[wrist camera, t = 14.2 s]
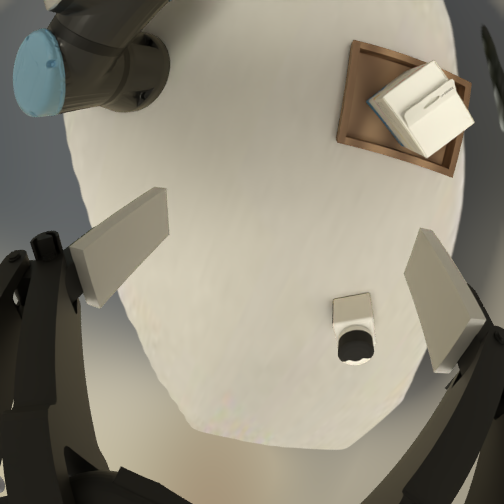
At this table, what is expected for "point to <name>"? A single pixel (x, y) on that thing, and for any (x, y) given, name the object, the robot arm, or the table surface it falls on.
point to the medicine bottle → (354, 328)
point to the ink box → (422, 109)
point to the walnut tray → (365, 119)
